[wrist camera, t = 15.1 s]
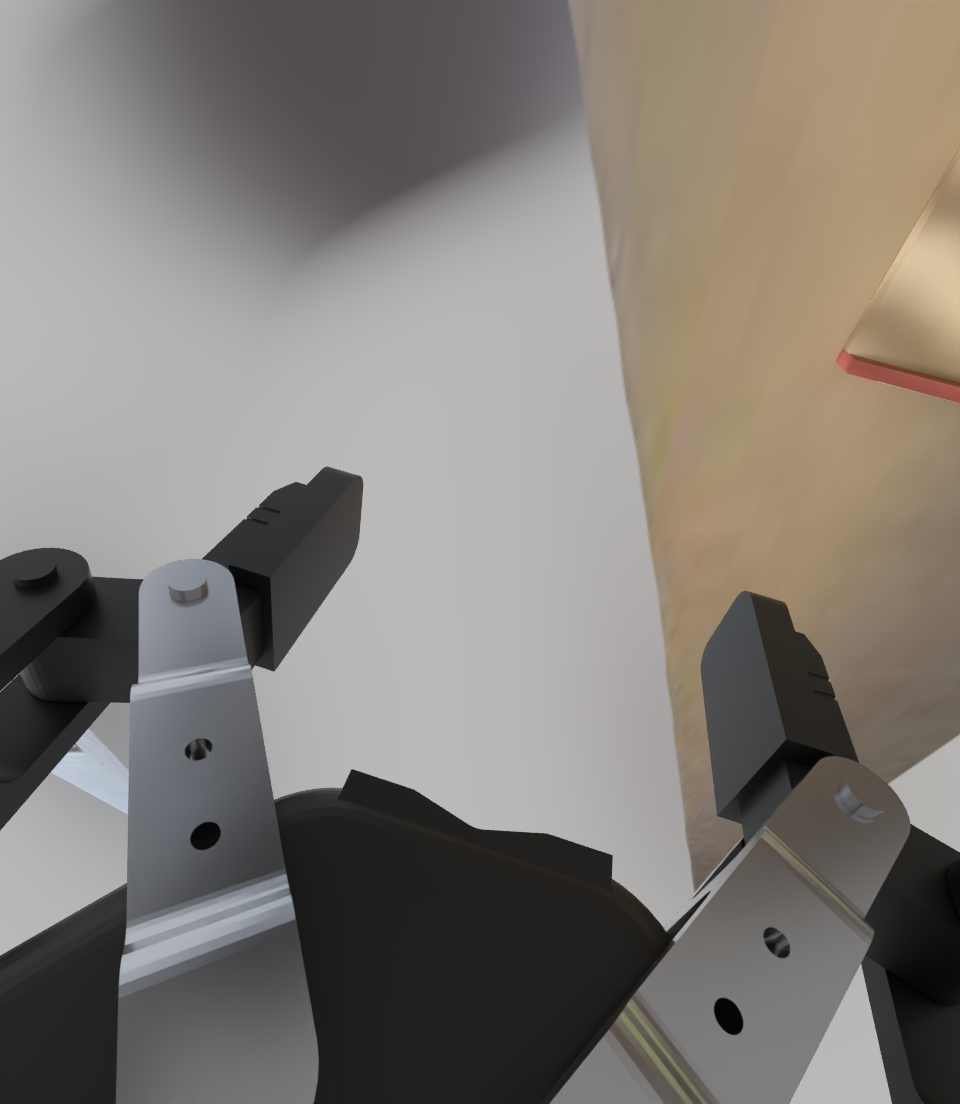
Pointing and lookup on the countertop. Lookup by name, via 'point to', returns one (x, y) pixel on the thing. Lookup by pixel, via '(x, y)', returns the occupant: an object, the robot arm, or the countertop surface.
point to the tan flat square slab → (917, 306)
